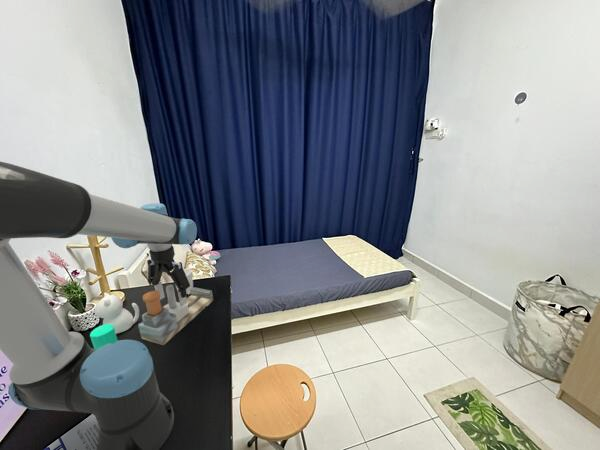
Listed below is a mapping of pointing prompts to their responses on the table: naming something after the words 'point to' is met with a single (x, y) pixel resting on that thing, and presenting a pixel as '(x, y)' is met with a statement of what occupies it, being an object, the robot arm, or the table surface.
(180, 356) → the table surface
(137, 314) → the cat figurine
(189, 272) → the white cup
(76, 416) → the table surface
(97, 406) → the robot arm
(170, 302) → the carriage
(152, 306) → the plunger
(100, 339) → the candle
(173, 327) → the rail board
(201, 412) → the table surface
